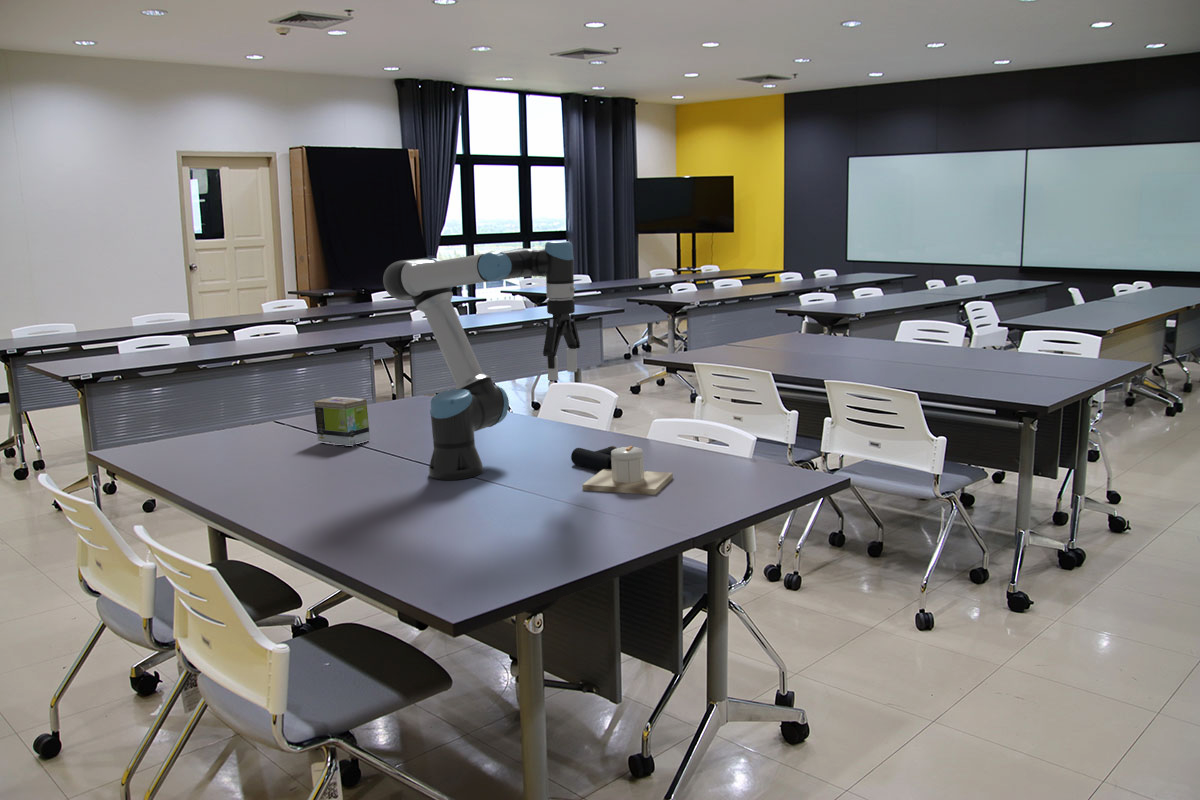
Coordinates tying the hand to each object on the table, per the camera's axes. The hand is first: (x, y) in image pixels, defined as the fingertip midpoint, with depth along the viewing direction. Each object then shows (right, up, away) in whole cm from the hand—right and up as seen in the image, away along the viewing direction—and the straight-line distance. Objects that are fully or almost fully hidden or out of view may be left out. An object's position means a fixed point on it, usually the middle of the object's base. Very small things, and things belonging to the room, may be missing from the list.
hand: (562, 375), depth 264 cm
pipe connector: (+11, -26, +11) cm, 31 cm away
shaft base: (+18, -29, -9) cm, 35 cm away
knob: (+18, -28, -9) cm, 34 cm away
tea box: (-75, -21, +54) cm, 95 cm away
